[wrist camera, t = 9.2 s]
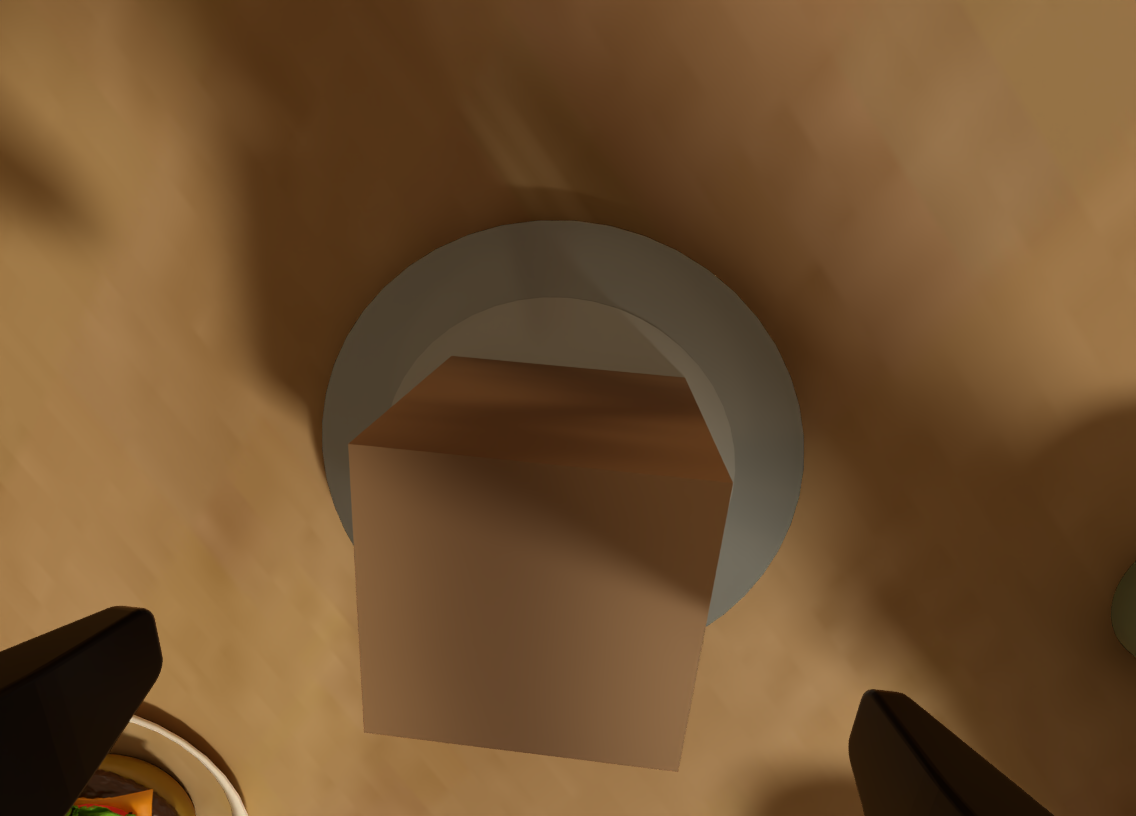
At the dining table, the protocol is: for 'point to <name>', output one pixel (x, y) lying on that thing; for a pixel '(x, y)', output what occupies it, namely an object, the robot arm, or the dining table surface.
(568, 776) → the dining table surface
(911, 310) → the dining table surface
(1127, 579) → the green tin
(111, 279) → the dining table surface
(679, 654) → the walnut block
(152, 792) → the hamburger
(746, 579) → the saucer
